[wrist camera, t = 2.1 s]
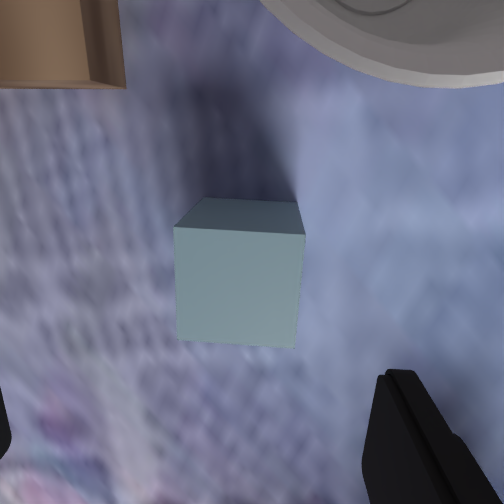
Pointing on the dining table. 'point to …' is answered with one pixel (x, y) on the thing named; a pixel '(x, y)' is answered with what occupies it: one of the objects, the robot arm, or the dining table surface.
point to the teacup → (405, 37)
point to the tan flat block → (61, 45)
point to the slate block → (239, 272)
